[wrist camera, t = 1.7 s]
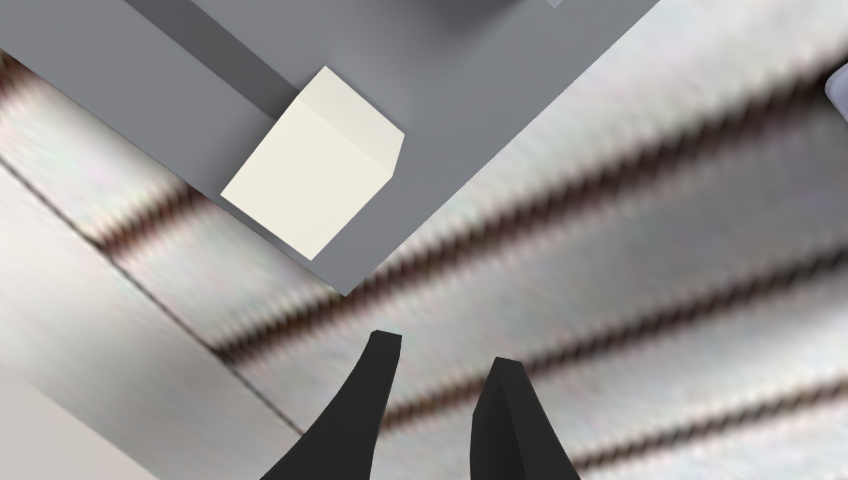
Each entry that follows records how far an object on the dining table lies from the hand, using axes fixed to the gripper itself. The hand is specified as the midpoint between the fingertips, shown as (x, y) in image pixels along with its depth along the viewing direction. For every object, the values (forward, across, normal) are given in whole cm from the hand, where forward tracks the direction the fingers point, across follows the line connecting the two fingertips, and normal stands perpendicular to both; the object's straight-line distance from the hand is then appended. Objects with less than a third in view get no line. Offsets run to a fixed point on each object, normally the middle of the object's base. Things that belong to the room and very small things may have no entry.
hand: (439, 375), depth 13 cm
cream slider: (+6, +4, -2) cm, 8 cm away
